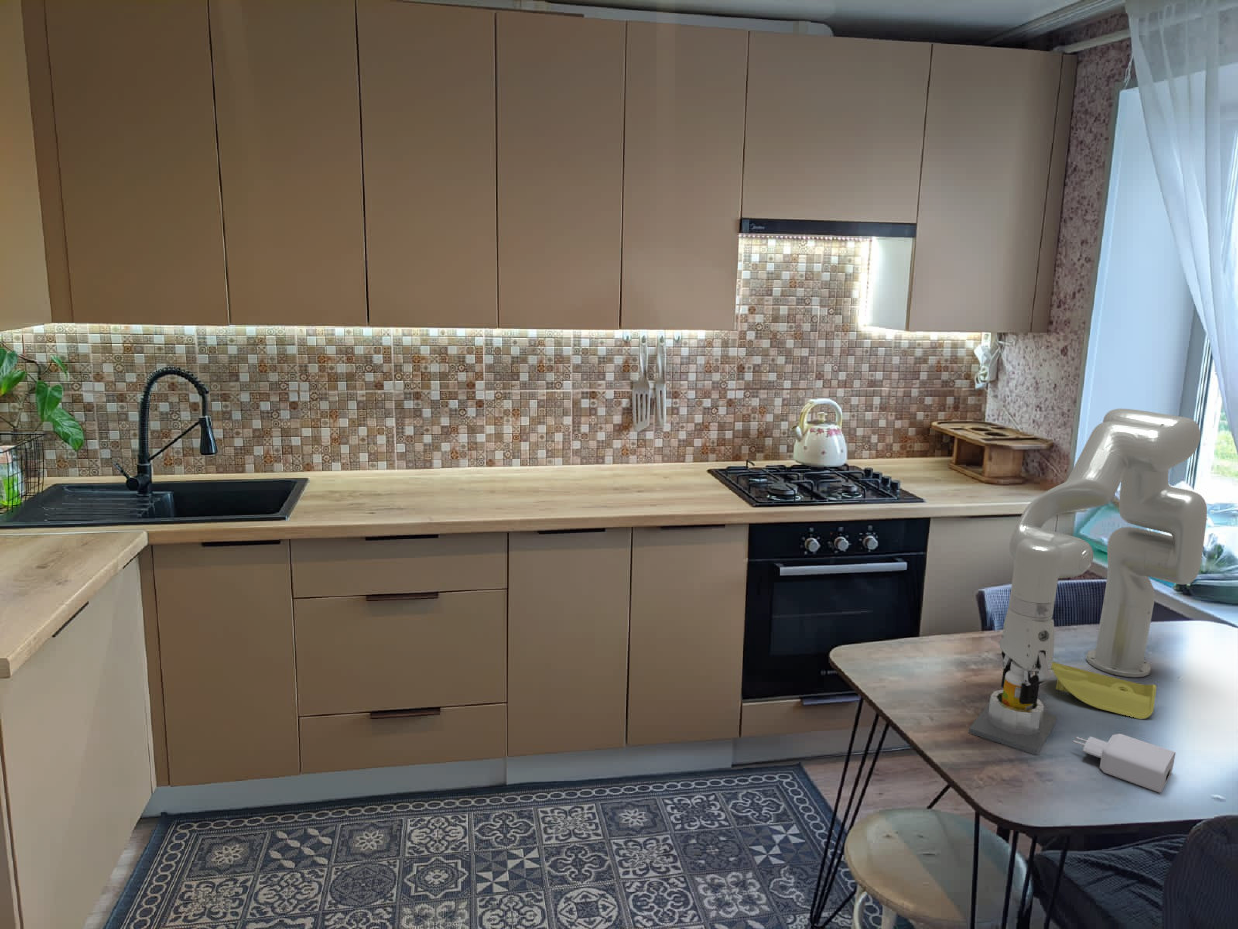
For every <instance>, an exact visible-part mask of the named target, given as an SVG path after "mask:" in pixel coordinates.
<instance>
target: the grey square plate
mask: <svg viewBox="0 0 1238 929" xmlns="http://www.w3.org/2000/svg"><path fill="white" fill-rule="evenodd" d="M1002 695H1003V689H999V690H994V691H993V692H992V693H991V695H990V697H989V702H988V703H987V705H986V706H985V707H984V708H983V710H982V711H981V712H980V714H979V715H978V716H977V718H975V720H974V721H973V723H972V724H970V725H971V726H969V728H968V734H970V733H971V734H970V735H974V736H975V737H979V736H980V738H983V739H986V740H988V739H989V741H992V742H995V743H998V744H1000V743H1001V745H1004V746H1007V747H1009V748H1014V749H1016V750H1019V751H1023V752H1024V753H1025V752H1026V753H1028V754H1030V755H1034V756H1038V754H1039V752H1040V750H1041V749H1042V747H1043V745H1044V744H1045V742H1046V740H1047V738H1048V737H1049V736H1050V734H1051V731H1052V730H1053V729H1054V727H1055V724H1056V723H1057V720H1058V716H1055V715H1053V714H1049V713H1046V712H1044V708H1045V706H1044V704H1043V702H1042V701H1041V700H1040V699H1039V698H1037V702H1036V703H1035V704H1033V707H1032V709H1031V710H1020V709H1015V708H1012V707H1008V706H1006V705H1004V704H1003V703H1001V702H1002Z"/></svg>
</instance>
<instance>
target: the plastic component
mask: <svg viewBox="0 0 1238 929" xmlns="http://www.w3.org/2000/svg"><path fill="white" fill-rule="evenodd" d="M1049 671H1052V672H1053V674H1054V676H1055V677H1056V679H1057V681H1056V686H1055V690H1058V691H1060V692H1065V691H1067V692H1066V693H1070V694H1071V695H1072V696H1074V697H1075V698H1076V699H1078V700H1079V701H1081V702H1083V703H1085V704H1086V705H1088V706H1091V707H1094V708H1096V709H1100V710H1103V711H1107V712H1111V713H1115V714H1118V715H1122V716H1125V715H1126V717H1129V716H1130V717H1131V718H1133V717H1134V718H1135V719H1137V720H1138V719H1139V720H1140V719H1141V720H1143V719H1147V718H1149V717H1150V716H1151V715H1152V714H1153V712H1154V710H1155V709H1154V708H1155V703H1156V702H1155V700H1156V693H1157V685H1155V684H1153V683H1152V684H1141V683H1137V682H1132V681H1129V680H1125V679H1121V678H1117V677H1113V676H1109V675H1104V674H1101V673H1097V672H1094V671H1093V672H1092V671H1088V670H1086V669H1080V668H1078V667H1073V666H1070V665H1064V664H1061V663H1058V662H1054V661H1052V667H1051V669H1050V670H1049Z"/></svg>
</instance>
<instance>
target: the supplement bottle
mask: <svg viewBox="0 0 1238 929" xmlns="http://www.w3.org/2000/svg"><path fill="white" fill-rule="evenodd" d="M1033 667H1035V665H1033ZM1010 669H1011V670H1010V671H1008V672H1007V673H1006V675H1005V681H1004V688H1002V690H1003V695H1002V702H1001V703H1003V704H1004V705H1006V706H1008V707H1012V708H1015V709H1020V710H1031V709H1032V707H1033V704H1021V703H1020V702H1019V699H1020V692H1021V685H1022V683H1024V668H1023V667H1021V666H1020V665H1019V664H1018V663H1016V662H1015V661H1014V660H1013V661H1012V662H1011V667H1010ZM1033 674H1034V672H1030V678H1031V677H1032V676H1034V675H1033Z"/></svg>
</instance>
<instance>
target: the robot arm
mask: <svg viewBox="0 0 1238 929" xmlns="http://www.w3.org/2000/svg"><path fill="white" fill-rule="evenodd" d="M1200 429H1201V428H1200V426H1199V424H1198V423H1197V422H1196V421H1195V420H1193V419H1191V418H1188V417H1186V416H1179V415H1174V414H1173V415H1172V414H1166V413H1159V412H1158V413H1157V412H1153V411H1146V410H1140V409H1132V408H1114V409H1111V410H1109V411H1108V412H1107V413H1105V415H1104V417H1103V419H1102V423H1099V424H1097V425H1096V426H1095V428H1094V429H1092V432H1091V433H1090V435H1089V437H1088V439H1087V441H1086V443H1085V445H1084V447H1083V449H1082V451H1081V453H1080V455H1079V456H1078V458H1077V460H1076V463H1075V464H1074V465H1073V466H1074V467H1073V468H1072V470H1071V472H1070V474H1069V477H1068V478H1067V479H1066V480H1065V482H1063V483H1061V484H1058V485H1056V486H1055V487H1052V488H1050V489H1048V490H1047V491H1045V492H1043V493H1042V494H1041V495H1039V496H1038V497H1036V498H1034V499H1033V501H1031V502H1030V503H1029V504H1028V505H1027V507H1026V508H1025V509H1024V511H1023V512H1022V514H1021V516H1020V518H1019V520H1018V522H1017V524H1016V526H1015V528H1014V529H1013V532H1012V535H1011V536H1010V541H1009V553H1010V556H1011V557H1012V558H1013V559H1014V566H1013V573H1012V580H1011V587H1010V595H1009V600H1008V607H1007V611H1006V615H1005V618H1004V623H1003V627H1002V633H1001V634H1002V635H1001V639H1000V640H999V642H998V644H999V648H1000V650H1001V653H1000V654H1001V657H1002V659H1003V660H1002V663H1001V665H1002V667H1003V670H1002V677H1001V684H1000V687H1001V688H1002V689H1003V688H1004V681H1005V675H1006V673H1007V672H1008V671H1010V670H1011V669H1010V667H1011V662H1012V661H1013V660H1014V661H1015V662H1016V663H1018V664H1019V665H1020V666H1021V667H1023V668H1024V683H1022V685H1021V692H1020V699H1019V702H1020V703H1021V704H1035V703H1036V702H1037V699H1038V696H1039V689H1040V686H1042V684H1043V683H1044V682H1046V681H1047V680H1049V679H1050V678H1051V673H1050V671H1051V670H1050V669H1051V667H1052V661H1053V660H1054V649H1055V620H1054V619H1053V615H1054V608H1055V602H1056V594H1057V590H1058V582H1059V579H1063V578H1065V579H1068V578H1075V577H1079V576H1080V575H1083V574H1084V573H1086V572H1087V571H1088V570H1089V569H1090V568H1091V565H1092V564H1093V561H1094V560H1093V559H1094V550H1093V548H1092V546H1091V544H1089V542H1087V541H1086V540H1084V539H1082V538H1080V537H1076V536H1073V535H1070V534H1066V533H1062V532H1059V531H1053V530H1049V529H1046V528H1043V527H1044V525H1045V524H1046V522H1048V521H1049V520H1051V519H1052V518H1054V517H1055V516H1059V515H1061V514H1065V513H1068V512H1072V511H1073V512H1075V511H1079V510H1086V509H1093V508H1096V507H1097V508H1099V507H1103V506H1106V505H1108V504H1110V503H1111V502H1112V501H1113V498H1114V497H1115V495H1116V492H1117V490H1118V489H1119V487H1120V490H1119V500H1118V502H1119V503H1118V504H1119V505H1118V507H1119V509H1118V513H1119V515H1120V518H1121V519H1122V520H1123V521H1124V522H1126V523H1128V524H1129V525H1130V524H1131V525H1133V526H1137V527H1133V526H1125V527H1124V526H1123V527H1120V528H1117V529H1115V530H1114V531H1113V532H1112V533H1111V534H1110V536H1109V538H1108V541H1107V549H1106V553H1107V573H1106V574H1107V575H1106V584H1105V590H1104V595H1103V596H1104V598H1103V604H1102V609H1101V615H1100V620H1099V627H1098V628H1099V629H1098V633H1097V639H1096V646H1095V648H1094V649H1091V650H1089V651H1088V652H1087V653H1086V656H1085V658H1086V661H1087V662H1088V663H1089V664H1090V665H1091V666H1092V667H1094V668H1096V669H1098V670H1100V671H1102V672H1106V673H1108V674H1111V675H1114V674H1115V676H1119V677H1120V676H1121V677H1125V678H1143V677H1146V676H1148V675H1149V674H1151V667H1152V666H1151V664H1150V663H1149V662H1147V661H1146V660H1145V656H1146V650H1147V644H1148V639H1149V638H1148V637H1149V632H1150V628H1151V622H1152V616H1153V610H1154V605H1155V598H1156V594H1155V589H1154V585H1153V584H1152V582H1151V580H1150V579H1151V578H1154V579H1157V580H1161V581H1163V582H1164V581H1165V582H1169V583H1172V584H1176V585H1188V584H1191V583H1193V582H1194V581H1195V579H1197V577H1198V575H1199V572H1200V569H1201V565H1202V559H1203V552H1204V544H1205V537H1206V528H1207V527H1206V526H1207V520H1208V519H1207V517H1208V506H1207V503H1206V501H1205V498H1204V497H1203V496H1202V495H1201V494H1199V493H1198V492H1195V491H1193V490H1188V489H1185V488H1179V487H1173V486H1171V485H1170V484H1169V473H1170V472H1169V470H1170V469H1172V468H1174V467H1176V466H1178V465H1179V464H1181V463H1183V462H1186V460H1188V459H1189V458H1190V457H1192V456H1193V455H1194V453H1195V452H1196V451H1197V449H1198V447H1199V445H1200V440H1201V430H1200ZM1139 527H1142V528H1139ZM1148 529H1150V530H1148ZM1152 530H1154V531H1152ZM1164 533H1167V534H1164ZM1168 534H1170V535H1168ZM1053 662H1054V661H1053ZM1033 665H1034V667H1033ZM1030 672H1033V673H1034V675H1033V676H1032V677H1031V678H1030Z"/></svg>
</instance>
